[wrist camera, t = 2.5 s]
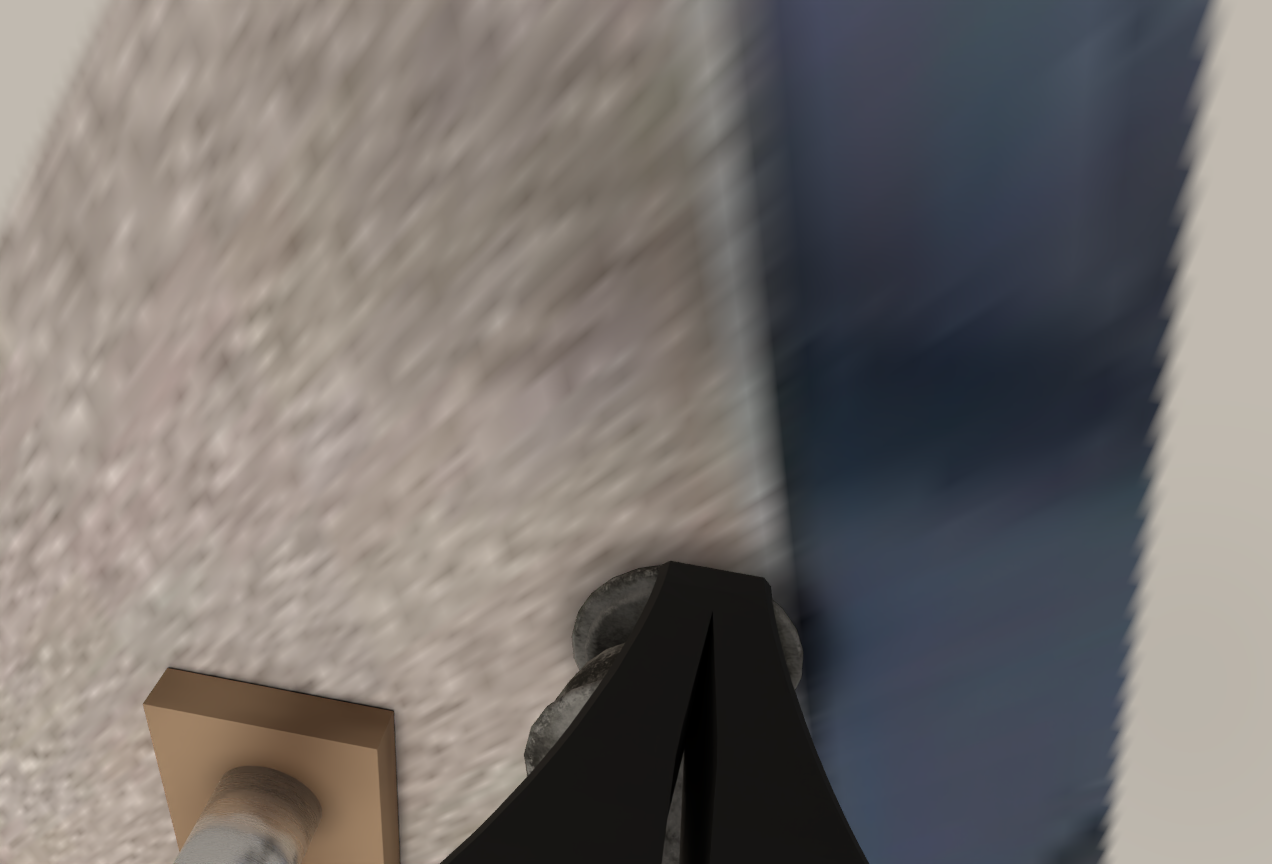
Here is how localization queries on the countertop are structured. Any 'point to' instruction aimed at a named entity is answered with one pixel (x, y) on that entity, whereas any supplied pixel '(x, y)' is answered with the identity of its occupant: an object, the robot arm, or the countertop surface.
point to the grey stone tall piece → (595, 651)
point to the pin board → (273, 774)
